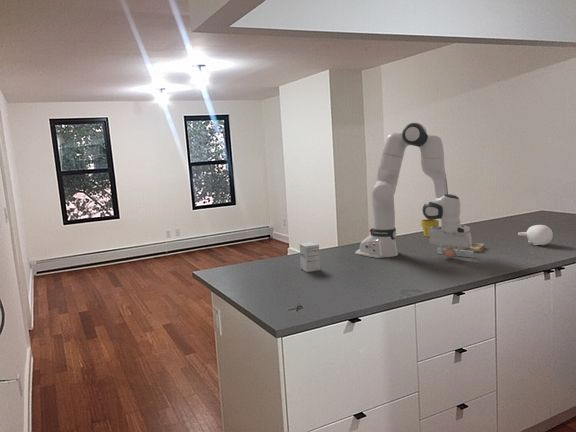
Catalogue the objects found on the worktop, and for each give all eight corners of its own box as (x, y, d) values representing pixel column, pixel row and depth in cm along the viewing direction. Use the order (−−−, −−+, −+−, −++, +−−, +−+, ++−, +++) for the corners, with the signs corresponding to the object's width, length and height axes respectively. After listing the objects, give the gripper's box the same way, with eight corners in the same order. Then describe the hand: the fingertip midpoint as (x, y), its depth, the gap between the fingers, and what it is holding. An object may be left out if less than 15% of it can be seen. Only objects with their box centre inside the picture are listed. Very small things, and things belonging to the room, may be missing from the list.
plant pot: (431, 233, 301) (431, 218, 300) (442, 236, 292) (442, 220, 290) (417, 235, 298) (417, 220, 296) (428, 238, 288) (428, 222, 287)
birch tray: (455, 250, 255) (455, 246, 255) (462, 245, 265) (462, 242, 265) (479, 252, 248) (479, 248, 248) (485, 247, 258) (485, 244, 258)
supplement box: (300, 268, 233) (299, 243, 231) (314, 266, 235) (313, 241, 233) (306, 272, 226) (305, 246, 224) (320, 270, 229) (319, 244, 227)
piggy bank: (555, 249, 255) (529, 246, 268) (558, 227, 256) (532, 225, 269) (541, 245, 249) (515, 242, 262) (544, 223, 250) (518, 221, 263)
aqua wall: (437, 253, 250) (437, 248, 249) (437, 253, 251) (437, 247, 250) (472, 257, 239) (473, 251, 239) (473, 257, 240) (473, 251, 240)
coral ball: (443, 258, 239) (443, 248, 238) (446, 256, 243) (446, 246, 242) (453, 259, 236) (453, 249, 235) (456, 257, 240) (456, 247, 239)
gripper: (427, 226, 240) (427, 253, 243) (469, 230, 228) (468, 258, 230) (432, 224, 245) (431, 250, 248) (473, 227, 233) (472, 255, 235)
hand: (450, 254), depth 239 cm, fingers closed on coral ball, 5 cm apart
